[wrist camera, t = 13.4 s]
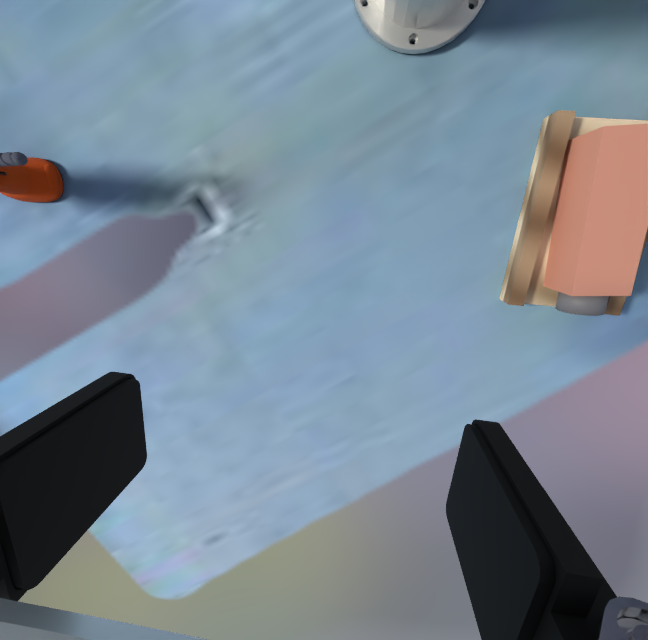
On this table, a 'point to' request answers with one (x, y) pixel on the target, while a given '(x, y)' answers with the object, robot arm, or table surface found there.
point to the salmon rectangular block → (599, 218)
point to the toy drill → (29, 178)
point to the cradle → (547, 212)
